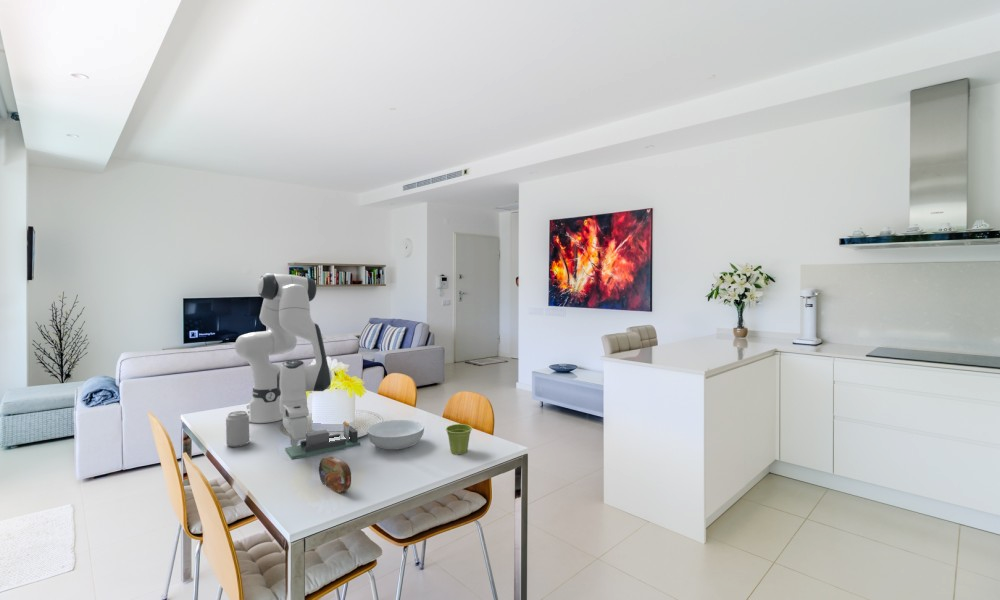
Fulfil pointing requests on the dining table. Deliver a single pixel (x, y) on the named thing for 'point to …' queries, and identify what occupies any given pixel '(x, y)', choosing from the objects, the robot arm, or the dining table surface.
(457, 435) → the plant pot
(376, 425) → the serving bowl
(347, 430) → the header board
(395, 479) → the dining table surface
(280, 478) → the dining table surface
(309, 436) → the plug
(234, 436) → the can
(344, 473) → the tin
